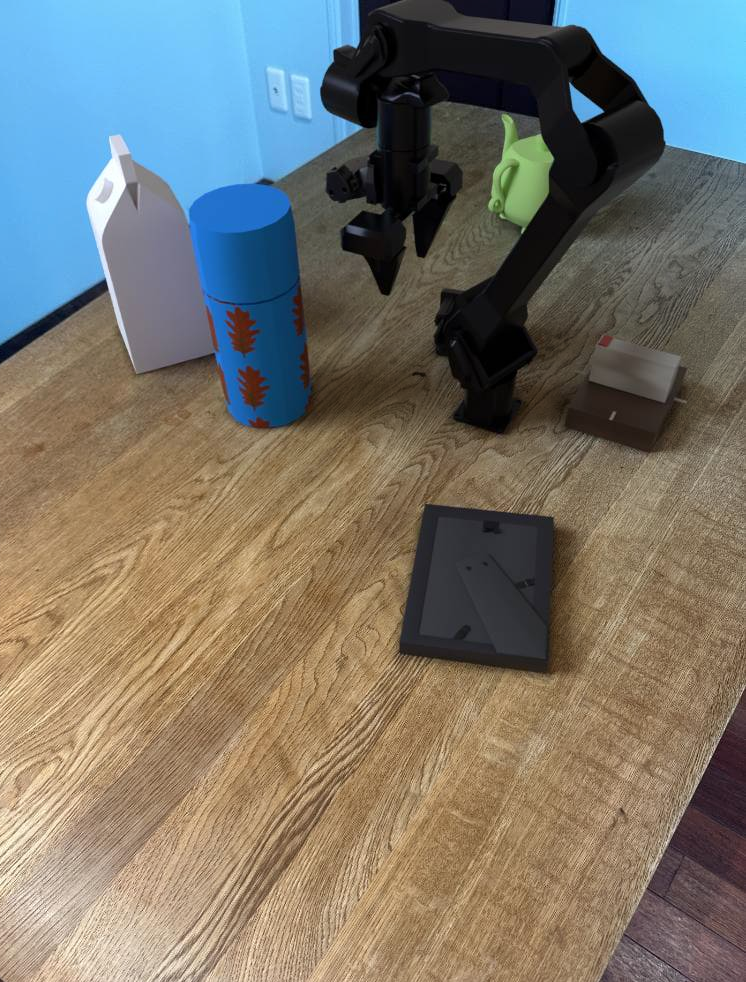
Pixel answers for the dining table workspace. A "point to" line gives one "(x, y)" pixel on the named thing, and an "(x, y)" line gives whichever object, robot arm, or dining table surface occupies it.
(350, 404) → the dining table surface
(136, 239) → the milk
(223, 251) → the thermos
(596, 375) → the light gray block
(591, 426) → the dark brown pegged box
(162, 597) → the dining table surface
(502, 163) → the teapot
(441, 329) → the end cap
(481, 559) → the picture frame
